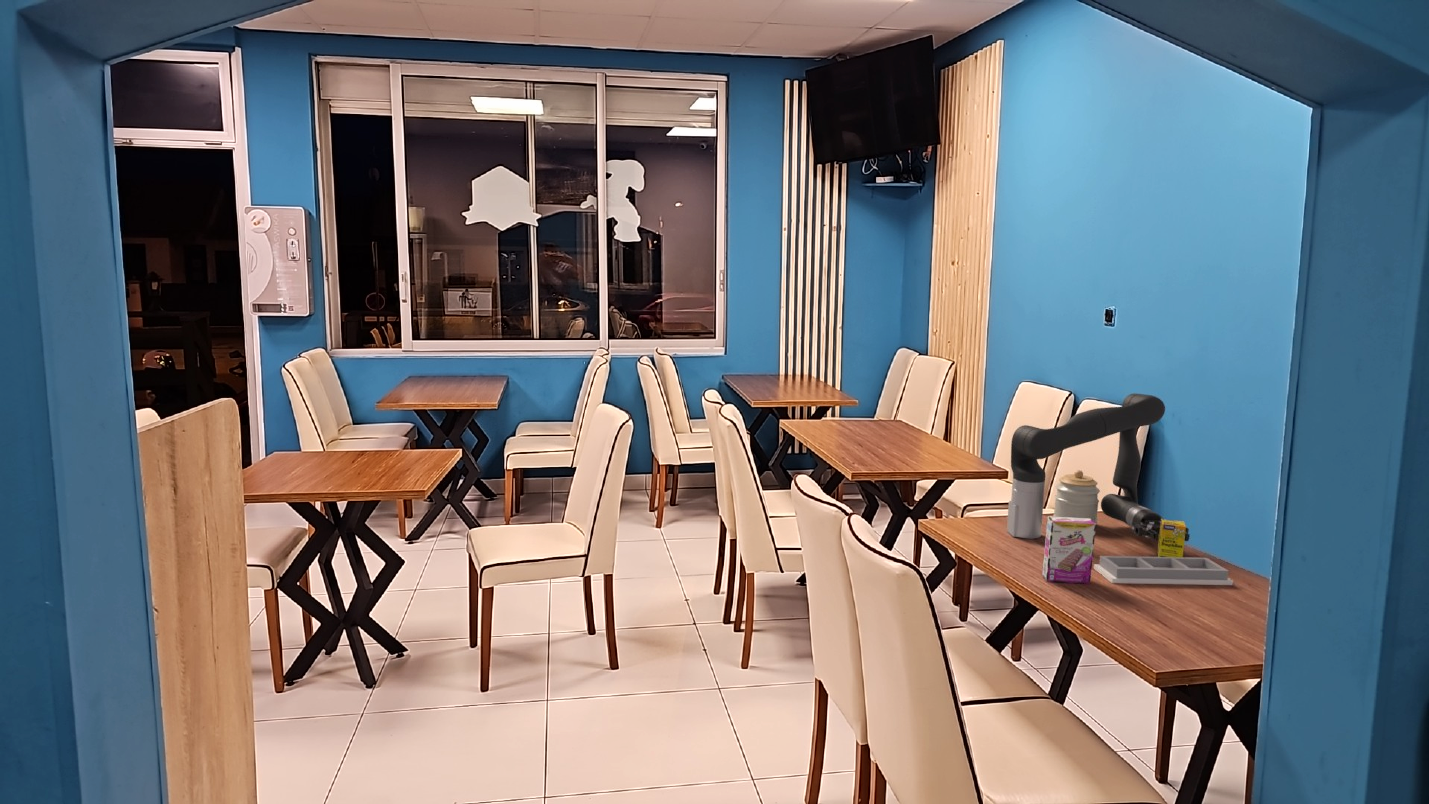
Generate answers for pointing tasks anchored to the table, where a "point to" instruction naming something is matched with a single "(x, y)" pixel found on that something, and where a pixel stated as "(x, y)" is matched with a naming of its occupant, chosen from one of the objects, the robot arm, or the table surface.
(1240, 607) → the table surface
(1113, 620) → the table surface
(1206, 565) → the rack
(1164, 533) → the supplement box
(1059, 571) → the candy bar box
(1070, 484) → the jar
